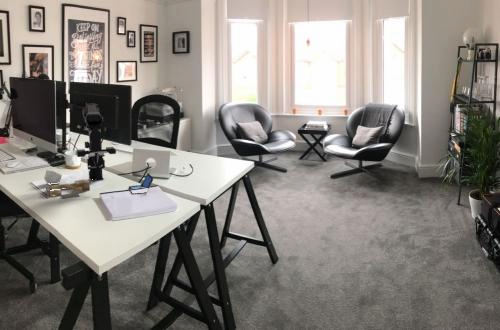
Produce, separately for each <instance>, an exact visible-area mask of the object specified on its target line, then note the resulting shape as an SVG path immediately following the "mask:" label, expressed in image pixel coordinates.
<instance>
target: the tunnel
mask: <svg viewBox="0 0 500 330" xmlns="http://www.w3.org/2000/svg"><path fill="white" fill-rule="evenodd" d="M62 188H66V189H65V190H68V189H67V188H73V189H75V182H74V183H73V182H72V183H63V184H62V183H61V184H55V185H48V184H47V185H46V184H45V192H46V191H47V192H46V195H47V197H48V198H50V197H54V196H53V195H59V196H61V195H63V194H62V190H54V191H50V190H52V189H62ZM75 191H76V192H75V193H78V194H82V193H83V191H82V187H79V188H76V189H75Z"/></svg>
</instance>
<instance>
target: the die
mask: <svg viewBox="0 0 500 330" xmlns="http://www.w3.org/2000/svg"><path fill="white" fill-rule="evenodd" d="M62 176H63V175H62V174H61V172H60V171H59V170H58V168H54V169H52V168H51V169H47V170H45V175H44V179H43V180H44V181H45V182H46V183H47V184H48V183H50V184H51V183H58V182H61V179H62Z"/></svg>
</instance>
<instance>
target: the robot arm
mask: <svg viewBox="0 0 500 330" xmlns="http://www.w3.org/2000/svg"><path fill="white" fill-rule="evenodd" d="M82 117H83V119H84V123H85V124H86V129H88V139H89V141H84V148H82V149H81V148H79V149H76V151H75V155H76V157H78V158H84V157H86V156H88V157H87V159H86V164H87V171H88V178H89V180H90V179H91V180H92V179H93V180H94V181H100V180H101V181H102V180H104V178H103V176H104V175H103V169H105V168H106V166H105V165H106V162H105V161H106V160H105V159H104V157H105V154H107V153H108V154H109V155H116V154H117V149H116V148H115V147H113V146H109V147H108V146H107V147H105V148H104V149H103V147H102V146H103V145H102V138H103V133H102V132H101V129H102V128H103V127H104V124H105V123H104V117H103V116H102V115H101V114H100V108H99V107H98V106H97V104H96V103H87V104H85V106H84V107H83V108H82ZM85 149H88V150H85ZM91 180H90V181H91Z"/></svg>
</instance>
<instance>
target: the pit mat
mask: <svg viewBox="0 0 500 330" xmlns="http://www.w3.org/2000/svg"><path fill="white" fill-rule="evenodd" d="M77 197H78V198H79V197H80V193H76V192H73V193H72V192H71V193H66V194H65V193H64V194H62V195H60V198H61V199H70V198H71V199H72V198H77Z"/></svg>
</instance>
